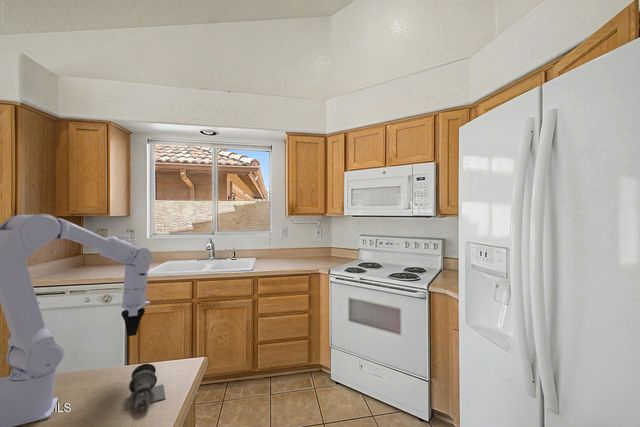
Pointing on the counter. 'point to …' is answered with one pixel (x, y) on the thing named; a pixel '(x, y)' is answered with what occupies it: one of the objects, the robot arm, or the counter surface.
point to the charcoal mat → (152, 395)
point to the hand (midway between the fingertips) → (131, 335)
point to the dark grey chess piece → (142, 385)
